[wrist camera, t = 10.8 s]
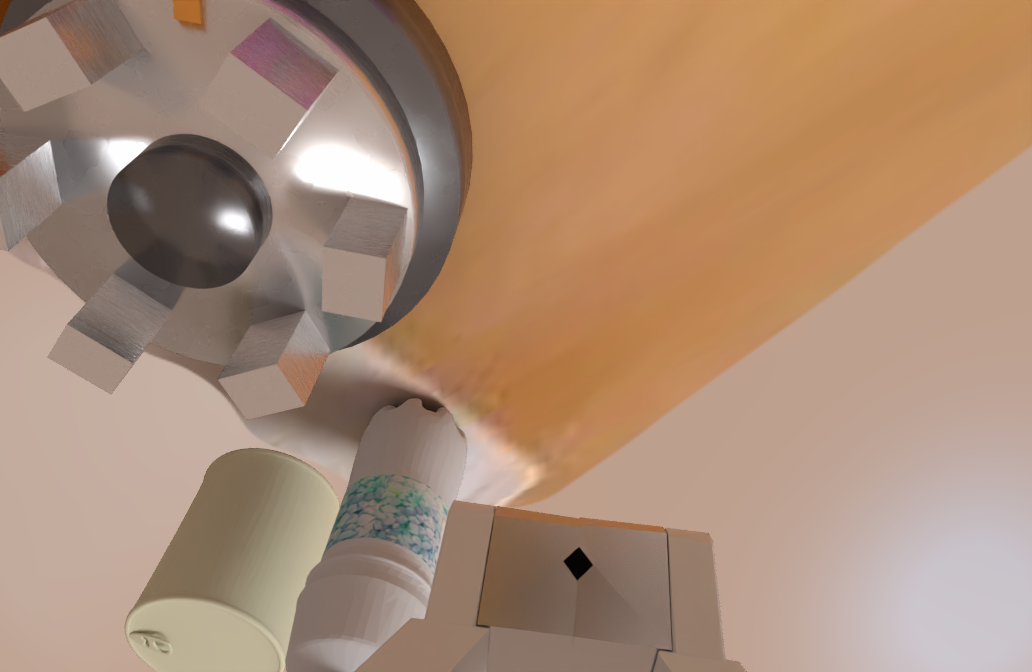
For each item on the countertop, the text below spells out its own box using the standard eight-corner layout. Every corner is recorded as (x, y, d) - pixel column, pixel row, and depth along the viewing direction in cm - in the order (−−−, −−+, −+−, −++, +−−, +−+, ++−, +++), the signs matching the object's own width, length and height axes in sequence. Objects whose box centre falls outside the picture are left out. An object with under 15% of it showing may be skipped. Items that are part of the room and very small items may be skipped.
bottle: (374, 465, 54) (267, 782, 38) (358, 383, 51) (232, 698, 34) (478, 470, 54) (414, 796, 38) (471, 387, 50) (395, 712, 34)
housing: (-15, -127, 36) (-80, -110, 33) (482, -78, 35) (466, -56, 32) (97, 290, 48) (58, 333, 45) (465, 334, 48) (452, 381, 44)
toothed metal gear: (59, 300, 44) (-18, 381, 38) (-19, -87, 33) (-142, -47, 28) (407, 367, 44) (377, 456, 39) (445, 3, 33) (410, 59, 28)
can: (198, 436, 55) (106, 592, 45) (340, 460, 55) (278, 621, 45) (211, 531, 60) (131, 688, 51) (340, 553, 60) (285, 715, 50)
